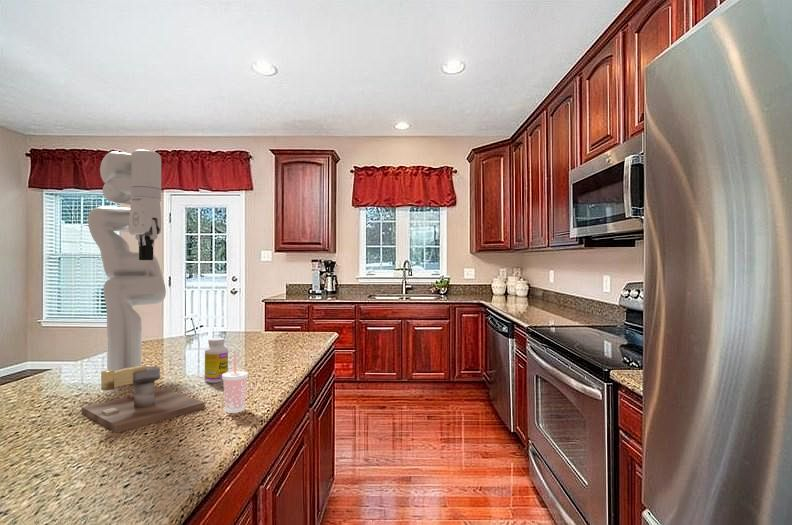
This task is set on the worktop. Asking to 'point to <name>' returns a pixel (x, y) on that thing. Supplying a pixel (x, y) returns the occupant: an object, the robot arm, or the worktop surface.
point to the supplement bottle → (216, 360)
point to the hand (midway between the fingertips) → (146, 259)
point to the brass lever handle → (128, 376)
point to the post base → (141, 408)
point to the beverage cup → (234, 389)
